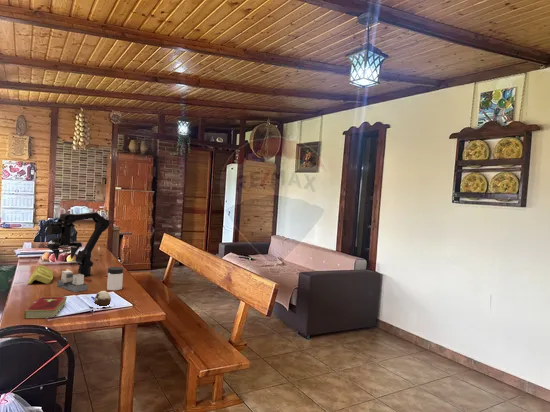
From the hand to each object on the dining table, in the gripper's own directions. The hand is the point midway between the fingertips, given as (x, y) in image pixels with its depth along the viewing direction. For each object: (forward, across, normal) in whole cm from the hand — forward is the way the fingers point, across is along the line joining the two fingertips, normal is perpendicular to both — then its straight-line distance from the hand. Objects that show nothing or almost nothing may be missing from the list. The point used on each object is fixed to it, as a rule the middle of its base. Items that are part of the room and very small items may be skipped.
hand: (64, 259), depth 238 cm
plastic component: (+12, +11, -3) cm, 17 cm away
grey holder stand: (+12, +8, +22) cm, 26 cm away
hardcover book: (+13, +37, +50) cm, 63 cm away
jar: (+12, -8, +38) cm, 41 cm away
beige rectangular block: (+10, +8, +16) cm, 21 cm away
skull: (+12, +16, +60) cm, 63 cm away
